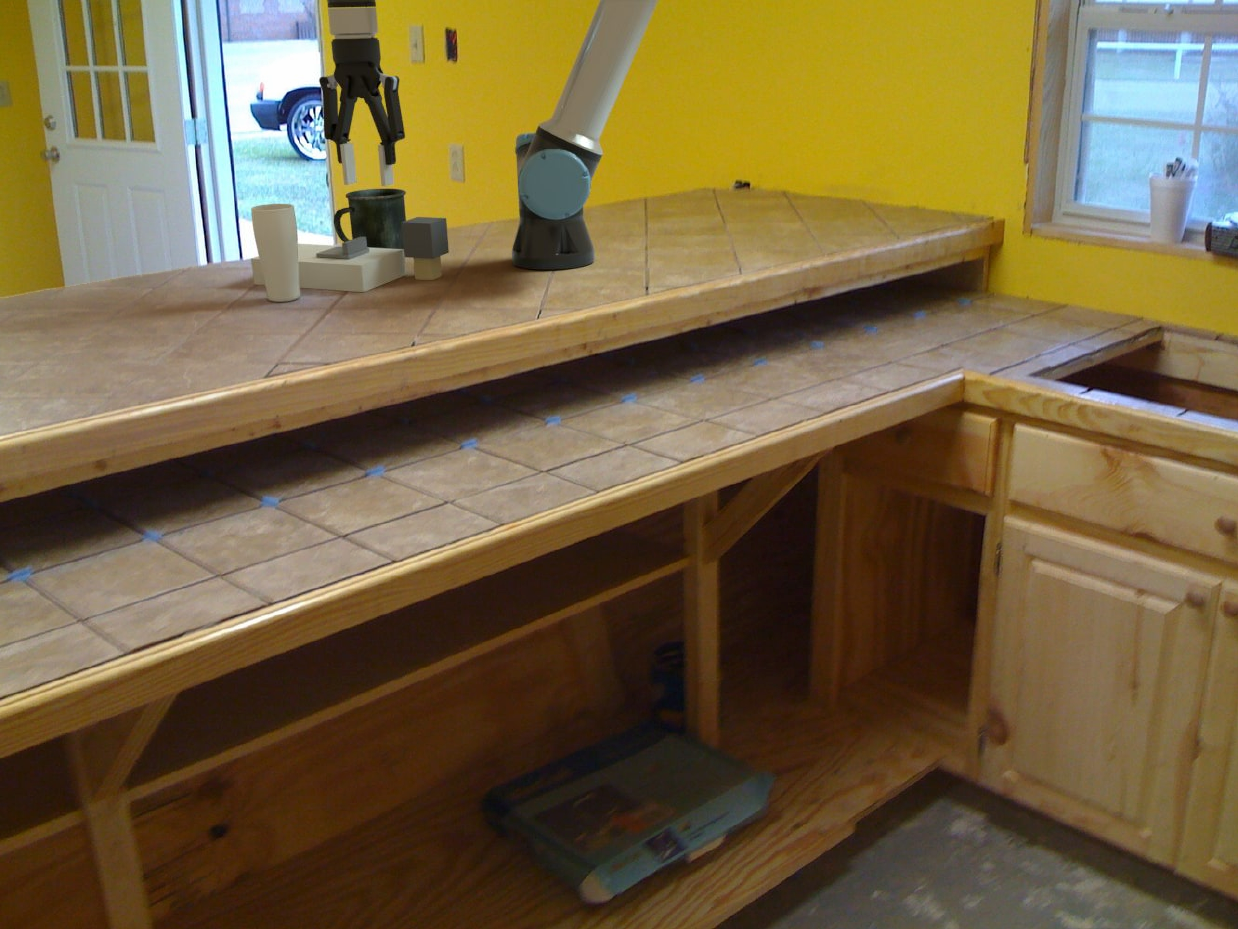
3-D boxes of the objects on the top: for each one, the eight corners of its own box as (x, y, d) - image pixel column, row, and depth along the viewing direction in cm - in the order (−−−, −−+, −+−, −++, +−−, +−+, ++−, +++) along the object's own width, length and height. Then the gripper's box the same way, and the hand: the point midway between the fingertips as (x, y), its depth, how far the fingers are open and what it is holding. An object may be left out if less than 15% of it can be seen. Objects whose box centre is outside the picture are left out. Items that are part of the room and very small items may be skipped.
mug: (422, 256, 226) (417, 192, 222) (353, 267, 218) (346, 201, 213) (392, 248, 234) (387, 186, 230) (325, 259, 225) (318, 195, 221)
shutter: (369, 251, 207) (368, 236, 206) (349, 258, 202) (347, 243, 201) (337, 249, 210) (336, 235, 209) (316, 256, 204) (314, 241, 203)
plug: (450, 275, 210) (446, 218, 206) (434, 281, 205) (430, 223, 201) (422, 273, 211) (417, 216, 208) (406, 280, 207) (401, 222, 203)
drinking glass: (283, 305, 191) (271, 211, 185) (253, 301, 194) (241, 208, 189) (314, 297, 196) (303, 205, 190) (285, 292, 199) (273, 202, 194)
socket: (406, 274, 211) (404, 249, 209) (363, 292, 198) (361, 265, 197) (301, 268, 218) (298, 243, 216) (254, 284, 206) (250, 258, 204)
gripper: (420, 35, 189) (431, 182, 197) (316, 36, 195) (331, 179, 204) (395, 36, 182) (408, 189, 191) (289, 38, 189) (306, 185, 197)
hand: (369, 184), depth 197 cm, fingers open, 6 cm apart
